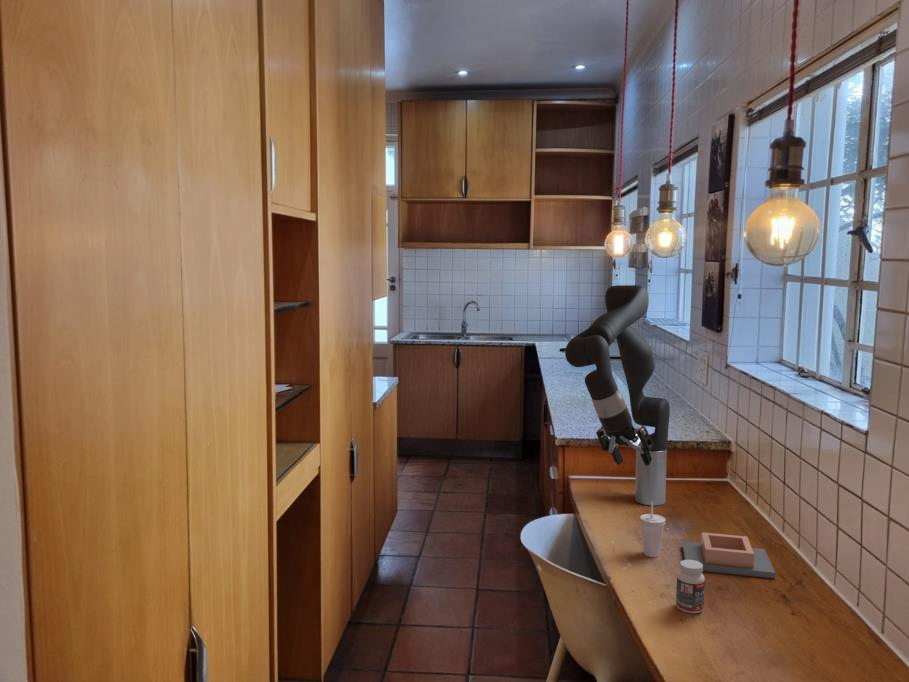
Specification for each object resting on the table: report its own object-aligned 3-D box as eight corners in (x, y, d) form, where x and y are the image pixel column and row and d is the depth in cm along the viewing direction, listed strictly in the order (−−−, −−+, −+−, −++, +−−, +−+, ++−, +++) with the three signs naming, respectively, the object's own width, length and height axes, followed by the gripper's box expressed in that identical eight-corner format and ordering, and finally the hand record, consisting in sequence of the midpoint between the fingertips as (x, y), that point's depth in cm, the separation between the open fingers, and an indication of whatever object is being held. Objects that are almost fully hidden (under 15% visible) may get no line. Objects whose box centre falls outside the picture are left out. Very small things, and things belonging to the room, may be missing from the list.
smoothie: (634, 554, 175) (635, 502, 173) (646, 547, 179) (647, 495, 178) (657, 561, 170) (659, 507, 169) (669, 553, 175) (670, 501, 174)
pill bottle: (700, 617, 143) (702, 572, 142) (673, 610, 146) (674, 565, 145) (706, 605, 148) (707, 562, 147) (679, 599, 151) (681, 556, 150)
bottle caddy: (682, 546, 179) (683, 528, 179) (764, 554, 174) (765, 536, 174) (686, 569, 166) (686, 549, 166) (774, 578, 161) (775, 558, 160)
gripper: (642, 400, 167) (665, 455, 170) (596, 402, 177) (618, 454, 181) (627, 416, 162) (651, 473, 166) (581, 417, 173) (604, 470, 176)
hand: (634, 463), depth 173 cm, fingers open, 8 cm apart
